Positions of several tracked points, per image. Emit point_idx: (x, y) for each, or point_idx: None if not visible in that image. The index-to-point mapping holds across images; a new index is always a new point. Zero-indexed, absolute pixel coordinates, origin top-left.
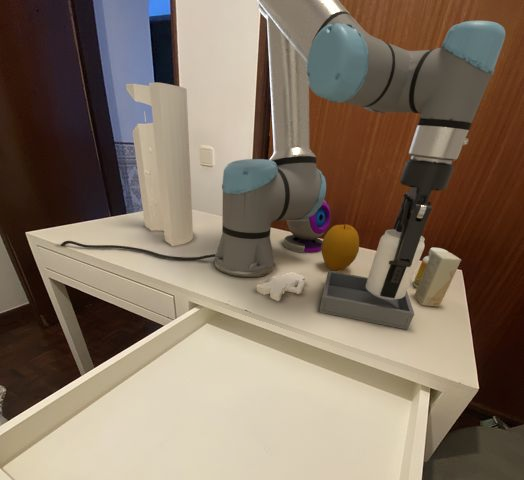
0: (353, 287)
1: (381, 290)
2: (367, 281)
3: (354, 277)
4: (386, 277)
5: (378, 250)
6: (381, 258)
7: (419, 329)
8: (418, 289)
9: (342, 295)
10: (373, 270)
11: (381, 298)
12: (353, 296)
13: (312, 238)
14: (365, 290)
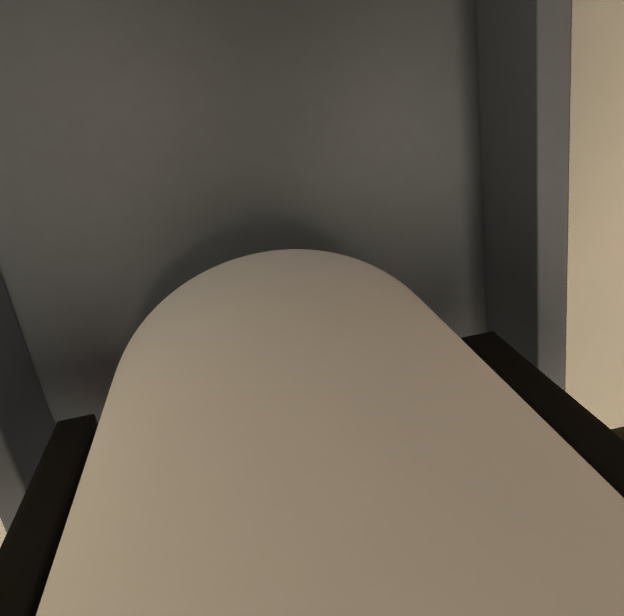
0: (484, 113)
1: (87, 435)
2: (241, 275)
3: (531, 97)
4: (18, 547)
5: (211, 546)
6: (77, 571)
7: None
8: None
9: (283, 44)
10: (180, 369)
11: None
12: (320, 143)
13: None
14: (485, 218)
